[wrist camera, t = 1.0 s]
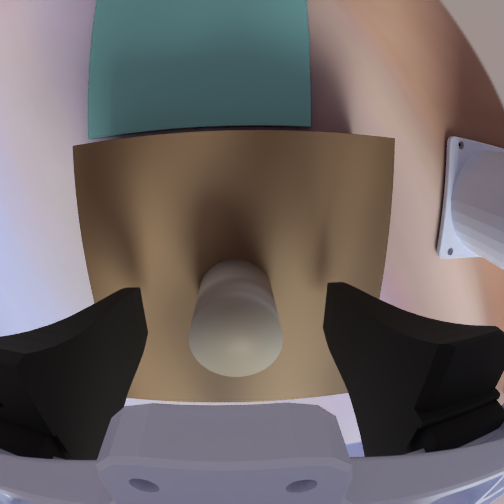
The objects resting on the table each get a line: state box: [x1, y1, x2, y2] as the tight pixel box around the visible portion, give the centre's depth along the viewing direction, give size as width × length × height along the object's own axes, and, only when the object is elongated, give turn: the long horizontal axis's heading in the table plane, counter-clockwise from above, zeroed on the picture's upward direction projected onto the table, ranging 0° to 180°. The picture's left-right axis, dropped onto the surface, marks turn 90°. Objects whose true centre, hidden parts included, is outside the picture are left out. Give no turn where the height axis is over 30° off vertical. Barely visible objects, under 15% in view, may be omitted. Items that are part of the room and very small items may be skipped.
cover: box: [73, 130, 395, 402], centre depth 14 cm, size 13×13×8 cm
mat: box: [88, 0, 311, 139], centre depth 13 cm, size 12×12×1 cm
